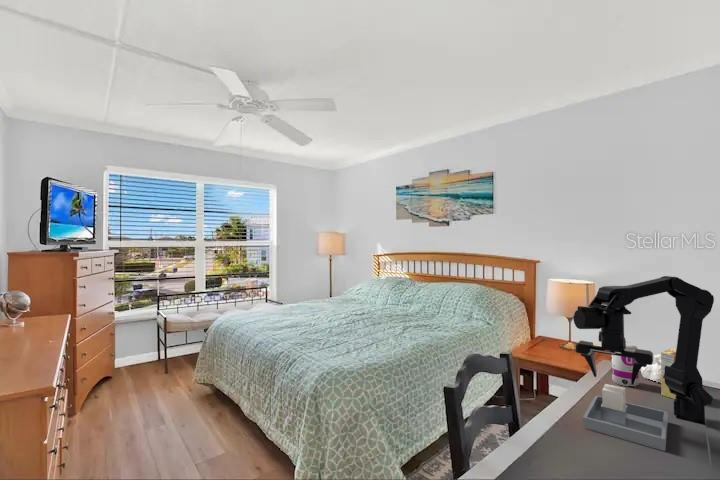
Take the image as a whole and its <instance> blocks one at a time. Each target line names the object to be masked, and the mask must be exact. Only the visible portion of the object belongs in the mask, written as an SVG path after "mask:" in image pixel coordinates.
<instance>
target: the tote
mask: <svg viewBox="0 0 720 480" xmlns="http://www.w3.org/2000/svg"><path fill="white" fill-rule="evenodd" d="M602 402H603V400H602V395H594V397H593V399H592V400H591V402H590V404H589V406H588V408H587V409H586V411H585V413H583V416H582V428H583V429H586V430H590V431H593V432H597V433H600V434H603V435H607V436H610V437H614V438H618V439H621V440H624V441H627V442H628V441H629V442H631V443H635V444H638V445H641V446H644V447H648V448H652V449H656V450H658V451H662V452H666V450H667V439H668V438H667V436H668V426H669V425H668V423H669V419H668V418H669V417H668V411H666V410H662V409H657V408H652V407H648V406H644V405H640V404H639V405H638V404H636V403H631V402H627V401H626V405H628V420H627V423H626V426H623V425H620V424H616V423H612V422H608V421H605V420H601V404H602Z"/></svg>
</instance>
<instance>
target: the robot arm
mask: <svg viewBox="0 0 720 480" xmlns="http://www.w3.org/2000/svg"><path fill="white" fill-rule="evenodd" d="M663 293H667V295H669V296H671V297H672V298H674V299H675V300H674V301H675V307H676V309H677V311H678V313H679V316H680V319H679V325H678V326H679V327H678V334H677V341H676V342H677V343H676V348H675V349H676V356H675V362H674V363H673V364H672V365H671V366H667V365H666V366H665V368H664V369H665V373H664V376H663V378H664V379H665V384H666V385H667V386H668V388H669V390H670V393H672V394H675V395H676V399H673V415H674V416H675V419H678V420H681V421H686V422H689V423H690V422H691V423H695V424H699V425H703V426H705V427H706V426H707V423H706V412H705V411H706V409H705V406H707V405H712V402H713V400H714V397H713V396H712V395H711V394H709V392H708V391H707V390H705V389H704V388H703V387H704V386H703V377H702V376H701V373H700V371H699V368H698V360H699V351H700V346H701V345H700V344H701V336H702V329H703V321H704V319H705V318H706V317H707V316H708V315H709V314H710V313H711V311H712V308H713V305H714V302H715V298H714V295H713V294H712V293H711V292H710V291H709V290H708V289H703V288H700V287H698V286H696V285H693V284H691V283H689V282H686V281H685V280H683V279H681V278H680V277H677V276H670V275H664V276H661V277H658V278H655V279H649V280H645V281H641V282H637V283H633V284H629V285H606V286H605V285H604V286H602V287H599V288H598V291H597V292H596V295H595V296H594V297H593V299H592V300H591V302H590V303H589V305H588V306H582V305H578V306H577V310H575V311H574V315H573V316H572V317H573V318H572V319H573V323H574V326H575V327H576V329H579V330H598V329H599V330H600V331H599V332H598V342H599V343H601V346H599V345H598V346H597V345H594V342H592V341H585V340H579V341H578V342H577V343H576V344H575V353H577V354H580V356H581V357H584V359H585V361H586V362H587V364H588V366H589V368H590V371H591V372H592V374H593V377H594V378H597V373H598V372H597V366H596V358H595V357H596V355H595V354H596V353H599V354H606V355H610V356H612V355H616V356H622V357H629V358H634V360H635V361H634V363H633V370H632V378H631V384H632V385H633V384H634V381H635V379H636V376H637V374H638V372H640V371H641V367H646V366H647V365H652V364H654V358H653V355H654V353H653V352H652V351H651V350H646V349H639V348H638V349H636V350H635V352H632V351H626V350H624V349H626V342H627V341H626V338H625V315H632V312H631V311H630V310H628V308H627V307H626V306H628V305H631V304H632V303H633V302H634V301H637V300H638V299H641V298H646V297H651V296H655V295H659V294H663ZM616 352H619V353H616Z"/></svg>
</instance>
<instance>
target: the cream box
mask: <svg viewBox="0 0 720 480" xmlns="http://www.w3.org/2000/svg"><path fill="white" fill-rule="evenodd" d="M601 391H602V392H601V393H602V395H601V397H602V400H603V407H607V408H611V409H615V410H619V411H624V408H625V405H626V402H627V401H626V388H625V387H624V386H623V387H622V386H617V385H612V384H607V383H604V385H603V388H602V389H601Z"/></svg>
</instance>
